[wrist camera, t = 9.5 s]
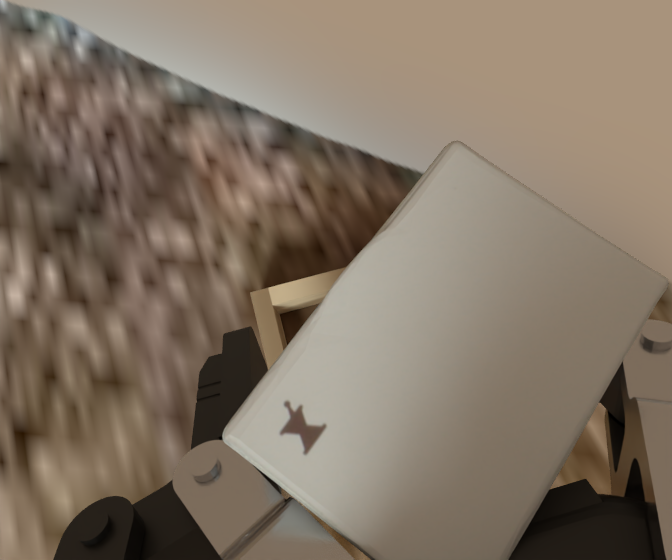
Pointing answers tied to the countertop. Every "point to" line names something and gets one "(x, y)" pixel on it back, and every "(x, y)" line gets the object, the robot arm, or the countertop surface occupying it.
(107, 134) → the countertop surface
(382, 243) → the skincare box
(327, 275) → the u-shaped wooden frame
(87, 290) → the countertop surface
